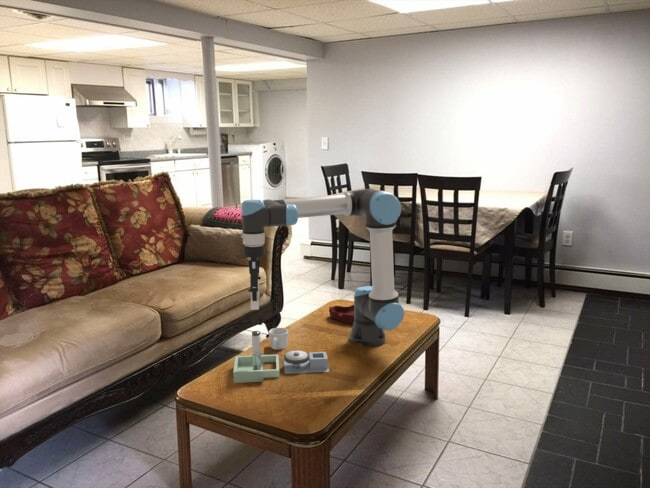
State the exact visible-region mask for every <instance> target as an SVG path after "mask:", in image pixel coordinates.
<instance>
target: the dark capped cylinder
mask: <svg viewBox="0 0 650 488" xmlns="http://www.w3.org/2000/svg"><path fill="white" fill-rule="evenodd" d="M261 347H262V346H261V331H259V330H254V331H252V332H251V349H252V351H251V352H252V353H251V354H252V355H251V356H252V358H253V370H261V355H262V354H261V353H262V349H261Z"/></svg>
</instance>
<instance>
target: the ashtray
mask: <svg viewBox="0 0 650 488" xmlns="http://www.w3.org/2000/svg"><path fill="white" fill-rule="evenodd" d="M328 313H329V316H330V318H332V319H334V320H337V321H340V322H342V323H346V324H348V325H353V324H354V304H351V305H349V306H343V305H342V306H341V305H333V306H329V309H328Z"/></svg>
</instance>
